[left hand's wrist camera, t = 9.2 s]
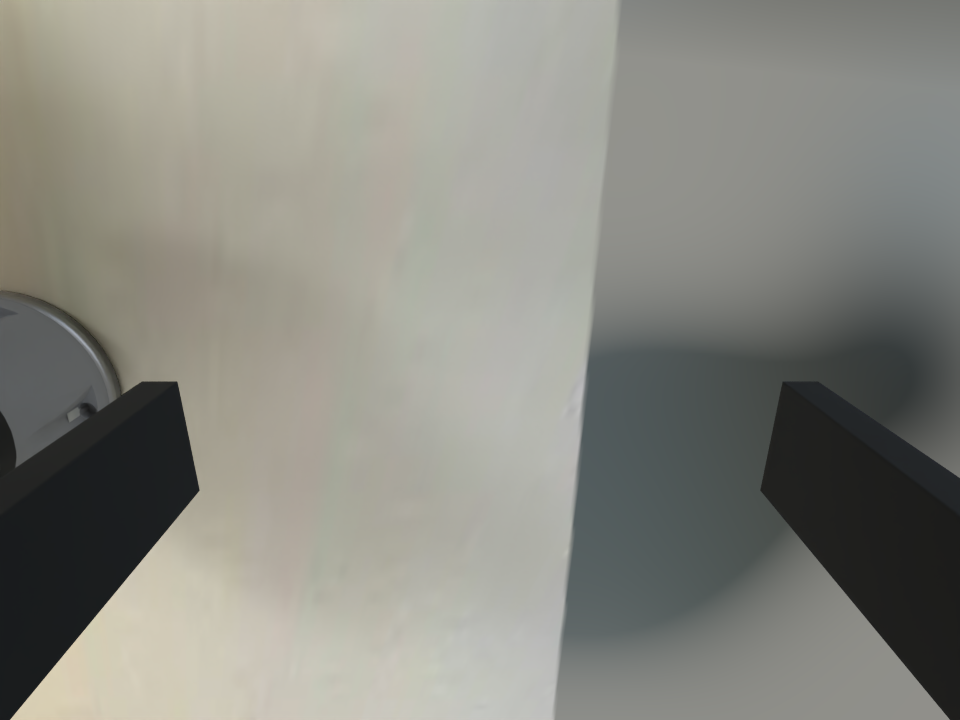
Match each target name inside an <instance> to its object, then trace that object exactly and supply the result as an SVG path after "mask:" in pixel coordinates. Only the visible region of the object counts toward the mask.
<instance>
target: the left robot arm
mask: <svg viewBox="0 0 960 720" xmlns="http://www.w3.org/2000/svg"><path fill="white" fill-rule="evenodd" d="M199 491H200V490H199V485H198V480H197V475H196V470H195V466H194V461H193V456H192V451H191V446H190V441H189V436H188V431H187V427H186V422H185V417H184V412H183V407H182V402H181V397H180V392H179V387H178V383H177V382H141V383H139V384H138V385H136V386H135V387H133V388H132V389H130V390H129V391H127V392H126V393H125V394H123V395H122V396H121V391H120V386H119V382H118V379H117V376H116V373H115V371H114V368H113V366H112V364H111V362H110V360H109V359H108V357H107V355H106V354H105V352H104V351H103V349H102V348H101V346H100V345H99V344H98V342H97V341H96V340H95V339H94V338H93V337H92V336H91V334H90V333H89V332H88V331H87V330H86V329H85V328H83V327H82V326H81V325H80V324H79V323H78V322H76V321H75V320H74V319H73V318H71V317H70V316H68V315H67V314H66V313H64V312H63V311H61V310H59V309H57V308H56V307H54V306H52V305H50V304H48V303H46V302H44V301H41V300H39V299H36V298H34V297H30V296H27V295H24V294H19V293H15V292H8V291H0V720H10V719H11V718H12V717H13V715H14V714H15V713H16V712H17V711H18V709H19V708H20V707H21V706H22V705H23V703H24V702H25V701H26V700H27V698H28V697H29V696H30V695H31V694H32V692H33V691H34V690H35V689H36V688H37V686H38V685H39V684H40V683H41V682H42V680H43V679H44V678H45V677H46V675H47V674H48V673H49V672H50V671H51V669H52V668H53V667H54V666H55V665H56V663H57V662H58V661H59V660H60V659H61V657H62V656H63V655H64V654H65V653H66V651H67V650H68V649H69V648H70V646H71V645H72V644H73V643H74V642H75V640H76V639H77V638H78V637H79V636H80V634H81V633H82V632H83V631H84V630H85V628H86V627H87V626H88V625H89V624H90V622H91V621H92V620H93V619H94V617H95V616H96V615H97V614H98V613H99V611H100V610H101V609H102V608H103V607H104V605H105V604H106V603H107V602H108V601H109V599H110V598H111V597H112V596H113V594H114V593H115V592H116V591H117V590H118V588H119V587H120V586H121V585H122V584H123V582H124V581H125V580H126V579H127V578H128V576H129V575H130V574H131V573H132V572H133V570H134V569H135V568H136V567H137V565H138V564H139V563H140V562H141V561H142V559H143V558H144V557H145V556H146V555H147V553H148V552H149V551H150V550H151V549H152V547H153V546H154V545H155V544H156V542H157V541H158V540H159V539H160V538H161V536H162V535H163V534H164V533H165V532H166V530H167V529H168V528H169V527H170V526H171V524H172V523H173V522H174V521H175V520H176V518H177V517H178V516H179V515H180V513H181V512H182V511H183V510H184V509H185V507H186V506H187V505H188V504H189V503H190V501H191V500H192V499H193V498H194V497H195V495H196V494H197V493H198V492H199ZM761 492H762V493H763V494H764V495H765V497H766V498H767V499H768V500H769V501H770V503H771V504H772V505H773V506H774V507H775V509H776V510H777V511H778V512H779V513H780V515H781V516H782V517H783V518H784V520H785V521H786V522H787V523H788V524H789V526H790V527H791V528H792V529H793V530H794V532H795V533H796V534H797V535H798V536H799V538H800V539H801V540H802V541H803V542H804V544H805V545H806V546H807V547H808V549H809V550H810V551H811V552H812V553H813V555H814V556H815V557H816V558H817V559H818V561H819V562H820V563H821V564H822V565H823V567H824V568H825V569H826V570H827V572H828V573H829V574H830V575H831V576H832V578H833V579H834V580H835V581H836V582H837V584H838V585H839V586H840V587H841V588H842V590H843V591H844V592H845V593H846V594H847V596H848V597H849V598H850V599H851V601H852V602H853V603H854V604H855V605H856V607H857V608H858V609H859V610H860V611H861V613H862V614H863V615H864V616H865V617H866V619H867V620H868V621H869V622H870V623H871V625H872V626H873V627H874V628H875V630H876V631H877V632H878V633H879V634H880V636H881V637H882V638H883V639H884V640H885V642H886V643H887V644H888V645H889V646H890V648H891V649H892V650H893V651H894V652H895V654H896V655H897V656H898V657H899V659H900V660H901V661H902V662H903V663H904V665H905V666H906V667H907V668H908V669H909V671H910V672H911V673H912V674H913V675H914V677H915V678H916V679H917V680H918V681H919V683H920V684H921V685H922V686H923V688H924V689H925V690H926V691H927V692H928V694H929V695H930V696H931V697H932V698H933V700H934V701H935V702H936V703H937V705H938V706H939V707H940V708H941V709H942V711H943V712H944V713H945V714H946V715H947V717H948V718H949V719H950V720H960V478H959V477H957V476H956V475H954V474H953V473H951V472H950V471H949V470H947V469H946V468H944V467H943V466H941V465H940V464H938V463H937V462H935V461H934V460H932V459H931V458H929V457H928V456H926V455H925V454H924V453H922V452H921V451H919V450H918V449H916V448H915V447H913V446H912V445H910V444H909V443H907V442H906V441H904V440H903V439H901V438H900V437H899V436H897V435H896V434H894V433H893V432H891V431H890V430H888V429H887V428H885V427H884V426H882V425H881V424H879V423H878V422H877V421H875V420H874V419H872V418H871V417H869V416H868V415H866V414H865V413H863V412H862V411H860V410H859V409H857V408H856V407H855V406H853V405H852V404H850V403H849V402H847V401H846V400H844V399H843V398H841V397H840V396H838V395H837V394H835V393H834V392H832V391H831V390H830V389H828V388H827V387H825V386H824V385H822V384H821V383H819V382H783V383H782V387H781V392H780V397H779V402H778V407H777V412H776V417H775V422H774V427H773V432H772V436H771V441H770V446H769V451H768V456H767V461H766V466H765V470H764V476H763V480H762V485H761Z"/></svg>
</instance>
